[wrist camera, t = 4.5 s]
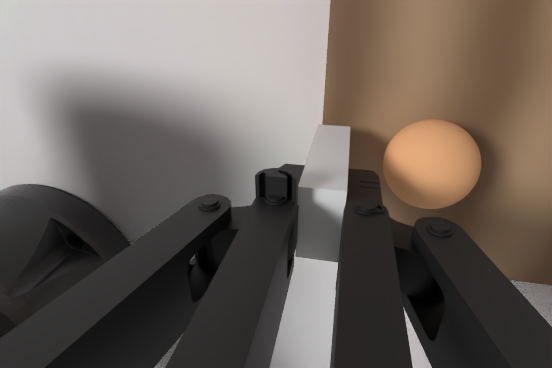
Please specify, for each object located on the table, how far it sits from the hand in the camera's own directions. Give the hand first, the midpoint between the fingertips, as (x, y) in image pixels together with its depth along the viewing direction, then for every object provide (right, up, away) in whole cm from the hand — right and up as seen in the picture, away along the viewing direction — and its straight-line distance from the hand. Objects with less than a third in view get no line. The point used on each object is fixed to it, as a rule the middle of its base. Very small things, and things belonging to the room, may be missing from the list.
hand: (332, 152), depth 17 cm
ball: (+4, -1, -1) cm, 4 cm away
